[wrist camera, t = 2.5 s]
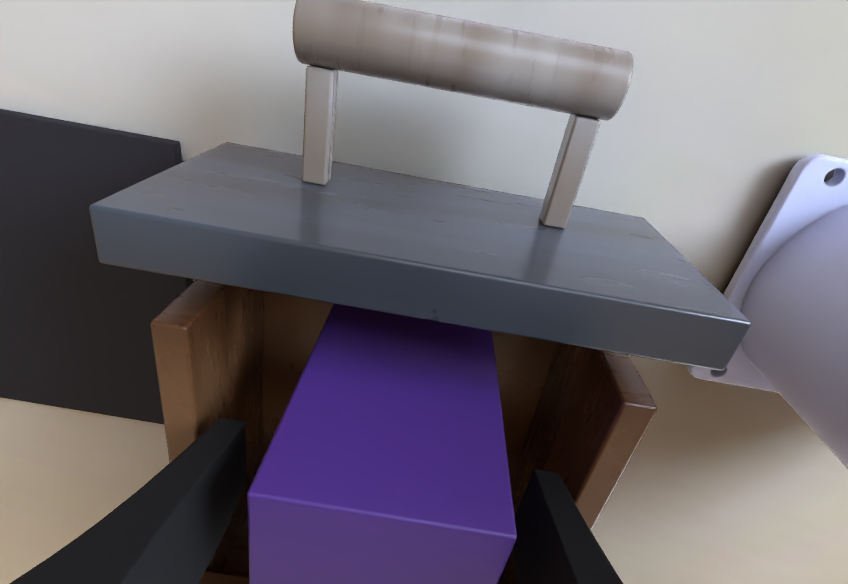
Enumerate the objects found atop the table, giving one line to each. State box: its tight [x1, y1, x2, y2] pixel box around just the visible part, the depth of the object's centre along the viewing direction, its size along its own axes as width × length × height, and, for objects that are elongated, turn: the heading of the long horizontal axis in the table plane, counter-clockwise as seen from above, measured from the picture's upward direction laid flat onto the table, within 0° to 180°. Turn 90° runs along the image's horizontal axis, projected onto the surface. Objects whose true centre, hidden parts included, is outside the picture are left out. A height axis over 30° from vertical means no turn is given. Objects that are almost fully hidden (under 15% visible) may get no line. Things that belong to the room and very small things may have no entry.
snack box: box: [247, 304, 517, 584], centre depth 12 cm, size 5×4×7 cm
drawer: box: [89, 0, 751, 584], centre depth 13 cm, size 18×12×6 cm
